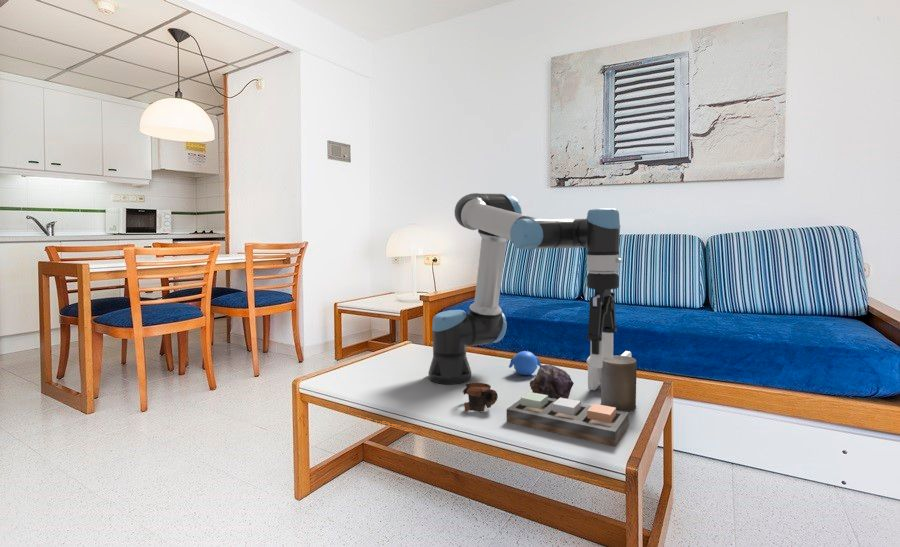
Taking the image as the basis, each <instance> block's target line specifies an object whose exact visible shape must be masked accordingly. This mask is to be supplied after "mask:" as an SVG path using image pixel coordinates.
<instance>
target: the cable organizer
mask: <svg viewBox="0 0 900 547" xmlns="http://www.w3.org/2000/svg"><path fill="white" fill-rule="evenodd" d="M620 355H621V356H628V357H632V352H631V351H630V350H629V351H628V350H625V351H624V352H623V353H622V354H620ZM586 364H587V388H588V390H591V391H595V390H597V389H598V388H599V387H601V368H597V367H590V355H589V356H588V357H587V359H586Z"/></svg>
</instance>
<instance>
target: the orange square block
mask: <svg viewBox="0 0 900 547" xmlns="http://www.w3.org/2000/svg"><path fill="white" fill-rule="evenodd" d="M615 416H616V408H615V407H610V406H604V405H602V404H598V403H593V404H592V405H591V407H590V408H589V409H588V410H587V418H588V419H593V420H598V421H603V422H608V423H611V421H612V420H613V419H614V417H615Z"/></svg>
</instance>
